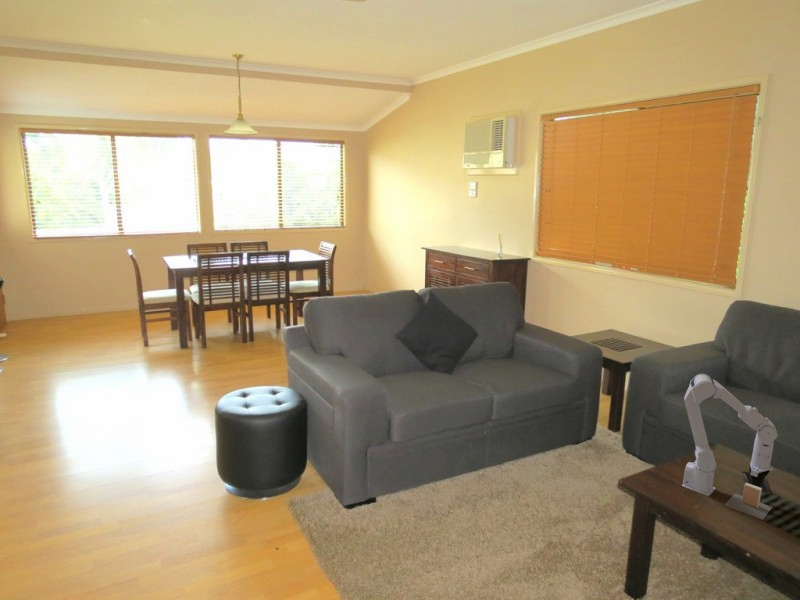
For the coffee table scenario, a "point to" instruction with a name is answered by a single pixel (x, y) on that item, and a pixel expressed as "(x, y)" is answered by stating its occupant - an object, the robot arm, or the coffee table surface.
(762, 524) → the coffee table surface
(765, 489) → the phone
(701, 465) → the robot arm
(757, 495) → the tile
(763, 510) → the mat
